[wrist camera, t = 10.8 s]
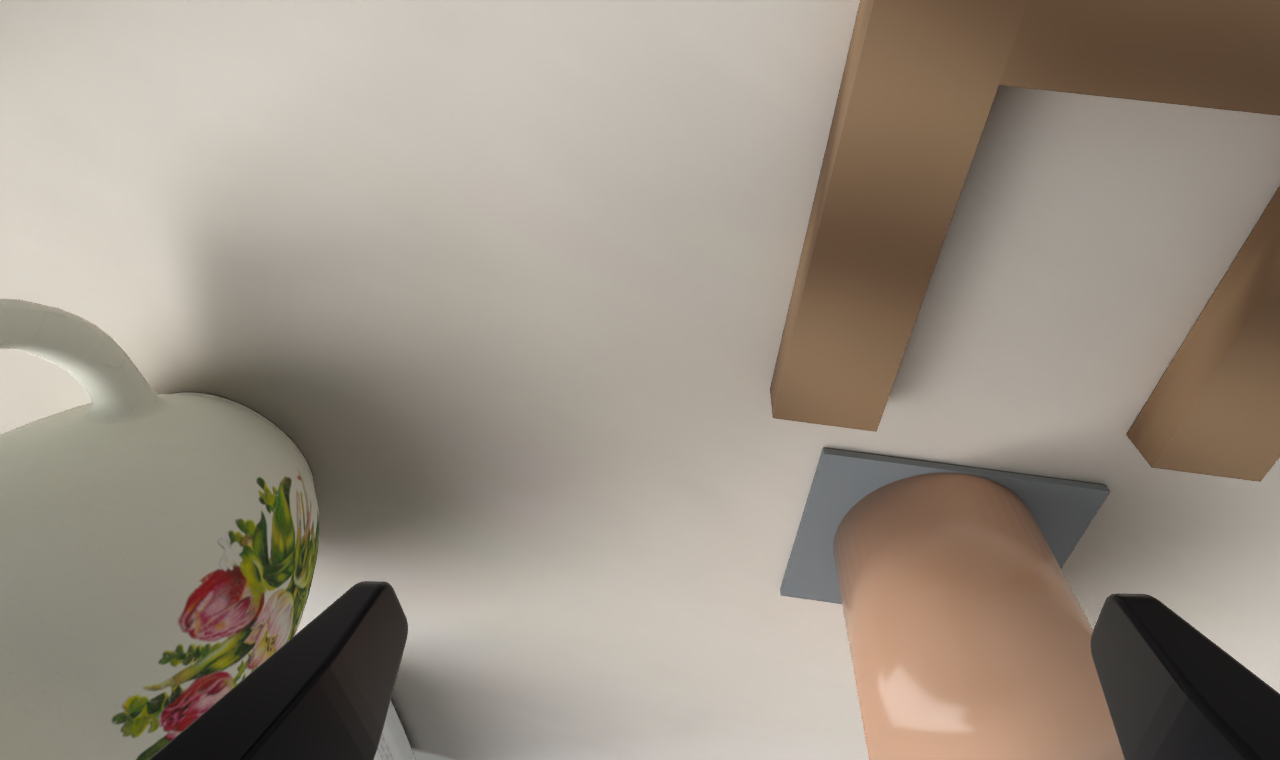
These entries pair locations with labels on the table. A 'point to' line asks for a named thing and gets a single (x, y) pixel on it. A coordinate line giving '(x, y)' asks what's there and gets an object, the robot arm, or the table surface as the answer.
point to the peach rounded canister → (965, 628)
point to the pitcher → (138, 552)
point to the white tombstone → (393, 739)
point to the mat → (856, 475)
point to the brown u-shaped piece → (937, 169)
